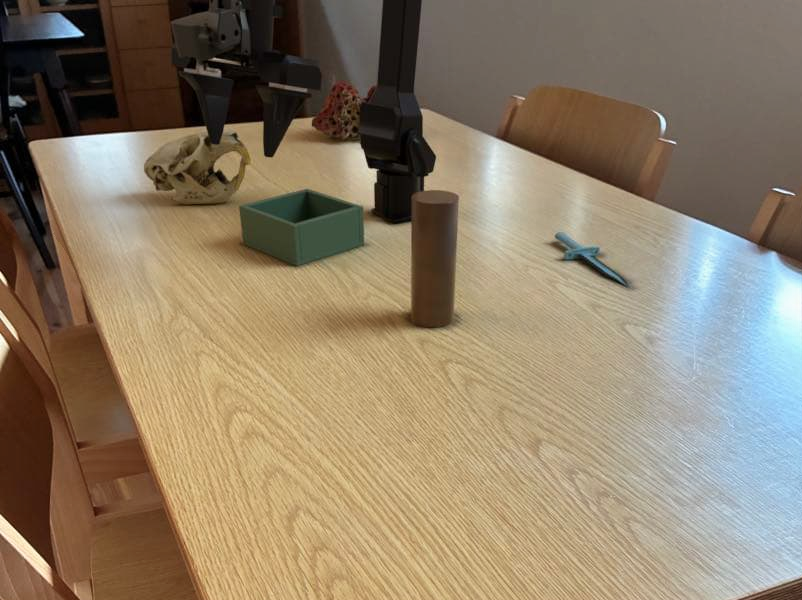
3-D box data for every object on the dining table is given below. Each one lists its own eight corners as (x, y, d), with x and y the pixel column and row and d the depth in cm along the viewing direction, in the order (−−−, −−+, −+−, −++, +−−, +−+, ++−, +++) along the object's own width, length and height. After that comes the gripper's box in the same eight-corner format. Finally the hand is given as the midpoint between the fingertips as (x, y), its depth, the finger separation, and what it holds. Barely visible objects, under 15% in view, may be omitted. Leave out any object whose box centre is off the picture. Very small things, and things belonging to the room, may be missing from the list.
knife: (647, 279, 98) (612, 285, 96) (645, 289, 98) (610, 294, 97) (574, 229, 109) (542, 233, 108) (573, 237, 110) (541, 242, 109)
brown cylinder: (437, 306, 92) (441, 187, 84) (462, 321, 89) (468, 198, 81) (402, 315, 90) (402, 194, 82) (426, 331, 87) (429, 206, 79)
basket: (309, 225, 115) (307, 188, 112) (364, 244, 109) (363, 206, 106) (243, 244, 109) (238, 205, 106) (296, 266, 102) (293, 226, 99)
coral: (423, 88, 159) (414, 75, 145) (406, 160, 164) (396, 153, 150) (334, 63, 159) (317, 47, 146) (320, 136, 164) (302, 127, 151)
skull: (248, 200, 118) (222, 126, 112) (156, 225, 123) (127, 155, 117) (271, 185, 125) (247, 115, 120) (183, 209, 130) (157, 143, 125)
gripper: (129, -32, 84) (131, 133, 92) (250, -23, 75) (242, 160, 82) (213, -11, 92) (209, 140, 100) (331, 0, 83) (317, 165, 90)
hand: (241, 150), depth 93 cm, fingers open, 9 cm apart
